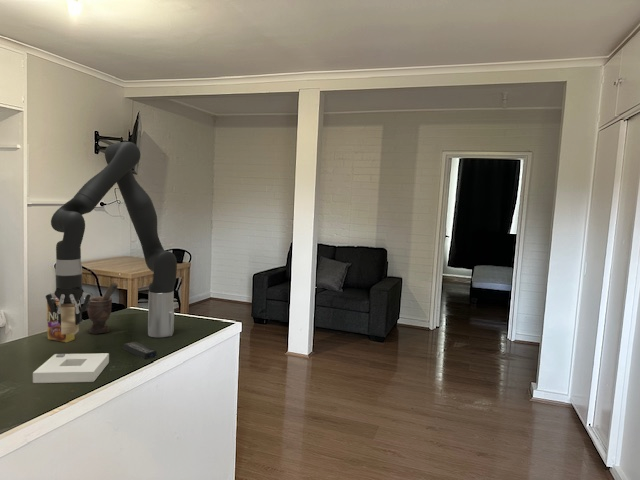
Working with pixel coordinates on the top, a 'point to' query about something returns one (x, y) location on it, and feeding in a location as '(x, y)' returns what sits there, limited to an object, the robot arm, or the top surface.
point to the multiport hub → (139, 350)
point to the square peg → (68, 319)
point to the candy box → (56, 326)
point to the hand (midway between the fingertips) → (69, 324)
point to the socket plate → (71, 368)
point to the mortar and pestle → (101, 311)
